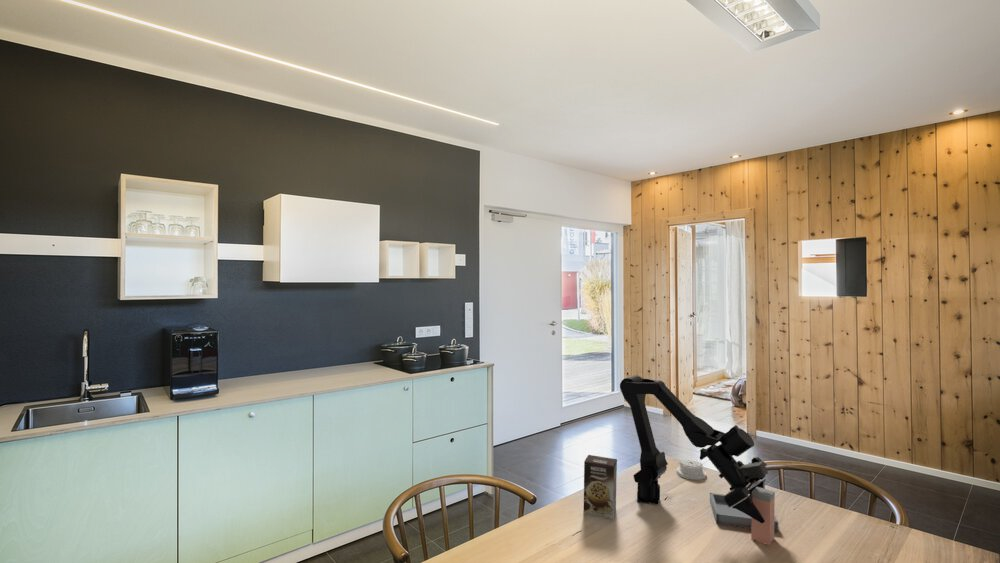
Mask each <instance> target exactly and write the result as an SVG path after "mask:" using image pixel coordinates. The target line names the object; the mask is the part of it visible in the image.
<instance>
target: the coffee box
mask: <svg viewBox="0 0 1000 563" xmlns="http://www.w3.org/2000/svg"><path fill="white" fill-rule="evenodd" d="M583 464H584V466H583V511H582V512H583V515H588V516H592V517H599V518H602V519H603V518H604V519H608V520H611V521H612V520H614V518H615V515H616V512H617V474H618V472H617V470H618V459H617V458H612V457H611V458H610V457H604V456H601V455H599V456H598V455H592V454H588V455H587V456H586V458H585V459H584V463H583Z"/></svg>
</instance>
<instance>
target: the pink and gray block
mask: <svg viewBox="0 0 1000 563" xmlns="http://www.w3.org/2000/svg"><path fill="white" fill-rule="evenodd" d="M775 493H776V491H774V490H770V489H766V488H765V489H764V488H760V487H756V488H755V489H754V490H753V491H752V501H753V503H754V505H755V506H756V508H757V509H758V511H759V512H760V514H761V515H762V517H763V518H764V520H765V522H764V523H760V522H759V521H757V520H755V519H754V518H752V523H751V528H750V529H751V530H750V532H751V535H750V537H751V538H750V540H754V541H756V542H759V543H762V544H765V545H767V546H771V544H772V543H773V541H774V539H775V532H774V515H775V508H776V507H775V504H776V503H775V498H776V497H775Z"/></svg>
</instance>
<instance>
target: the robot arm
mask: <svg viewBox="0 0 1000 563" xmlns="http://www.w3.org/2000/svg"><path fill="white" fill-rule="evenodd" d="M619 389H620V392H621V394H622V396H623V399H624V400H625V401H626V403H627V404H628V405H629V408H630V411H631V415H632V419H633V423H634V427H635V431H636V435H637V439H638V443H639V447H640V458H639V465H640V470H638V471H637V472H636V473H634V474H633V479H634V483H637V492H636V502H637V503H644V504H652V505H659V501H660V500H661V486H660V484H659V479H660V478H661V476H662V475H664V474H665V473H666V471H667V470H668V469H667V468H668V467H667V466H668V465H669V463H668V461H667V459H666V453H665V452H664V451H660V450H659V449H658V448H657V445H656V442H655V437H654V434H653V431H652V427H651V422H650V419H649V414H648V411H647V407H646V395H652V396H654V397H655V398H656V399H657V400H658V402H660V403H661V404H662V406H663V407H664V408H665V409H666V410H667V411H668V412H669V413H670V414H671V415H672V416H673V417H674V419H676V420H677V421H678V423H679V424H680V425H681V427H682V429H683V432H684V434H685V436H686V437H687V439H688V440H689V441H690V443H691V444H692V445H693V446H694V447H696V448H701V449H700V450H699V454H700V455H699V460H700V461H702V460H703V459H705V458H707V459H708V460H709V461H710V462H711V463H712V465H713V466H714V467H715V469H716V470H717V471H718V472H719V474H718V477H719V478H720V479H722V478H723V479H724V480H725V481H726V482H727V484H728V485H729V486H730V487H729V492H727V493H726V494H724V495H725V496H724V502H725V503H726V504H727V505H728V507H731V506H733V507H732V508H733V509H734V508H735V509H737V510H739V511H741V512H743V513H745V514H747V515H748V516H750V517H752V518H754V519H755V520H757V521H759V522H760V523H764V522H765V520H764V518H763V517H762V515H761V514H760V512H759V511H758V509H757V508H756V506H755V505H754V503H753V501H752V491H753V490H754V489H755V488H756V487H760V488H764V489H766V481H767V480H766V478H765V477H766V475H768V474H769V471H768V470H767V468H766V467H767V463H766V462H765V460H762V459H761V458H760V457H759V456H755V457H752V458H751V459H750V460H751V462H748V463H747V464H744V463H743V462H742V461H741V460H736V459H735V457H739V456H741V455H742V454H744V453H746V452H747V451H748V450H750V449H751V448H753V447H754V446H755V442H754V439H753V437H752V436H751V435H750V434H749V432H746V431H745V430H744V429H742V428H741V427H739V426H738V425H737V424H735V425H734V426H732V427H730V429H729V430H728V431H727V432H723V431H720V430H718V429H715V428H714V427H712V426H711V425H710V424H709V423H707V422H706V421H705V420H704V419H702V418H700V417H698V416H696V415H695V414H694V413H692V412H691V411H690V410H689V409H688V408H687V407H686V406H685V405H684V403H683V402H682V401H681V400H680V399H679V398H678V397H677V396H676V395H675V394H674V393H673V392H672V390H671V389H670V388H668V387H667V385H666V383H665V382H664V381H662V380H660V379H659V380H656V379H650V378H643V377H641V376H639V375H635V374H634V375H632V376H628V377H626V378H623V379H622V380H621V382H620V383H619ZM718 443H720V444H718ZM717 444H718V445H717ZM705 447H707V448H705ZM733 456H734V457H733Z"/></svg>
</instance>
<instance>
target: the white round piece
mask: <svg viewBox="0 0 1000 563" xmlns="http://www.w3.org/2000/svg"><path fill="white" fill-rule="evenodd" d="M679 464H680V465H679V466H678V467H677V468H676V473H677V475H678V476H679V477H681V478H684V479H687V480H692V481H701V480H705V479H706V478H707V471H705V470H704V469H703V463H702V462H699V461H697V460H694V459H689V458H688V459H687V458H686V459H682V460H681V461H680V462H679Z"/></svg>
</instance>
